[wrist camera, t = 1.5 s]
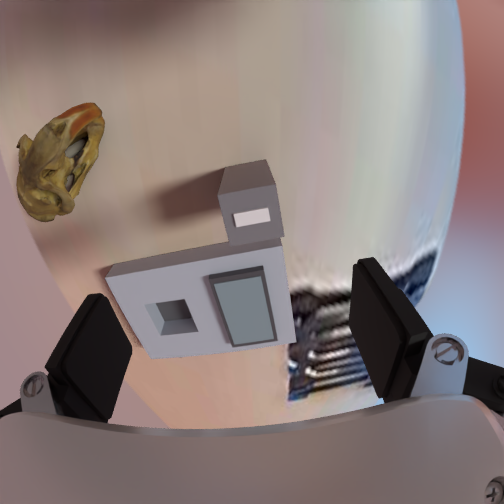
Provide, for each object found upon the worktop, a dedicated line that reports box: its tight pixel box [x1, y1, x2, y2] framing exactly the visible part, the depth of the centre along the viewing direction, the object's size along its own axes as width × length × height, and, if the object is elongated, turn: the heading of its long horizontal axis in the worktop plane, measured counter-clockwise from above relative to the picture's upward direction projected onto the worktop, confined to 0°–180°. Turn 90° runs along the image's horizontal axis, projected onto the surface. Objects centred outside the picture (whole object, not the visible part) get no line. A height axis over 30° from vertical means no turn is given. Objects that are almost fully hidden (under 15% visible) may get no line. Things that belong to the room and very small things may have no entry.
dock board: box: [105, 238, 296, 359], centre depth 33 cm, size 20×14×4 cm
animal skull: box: [16, 103, 105, 222], centre depth 21 cm, size 9×16×10 cm, turn 130°
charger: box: [217, 160, 284, 247], centre depth 24 cm, size 4×4×9 cm
